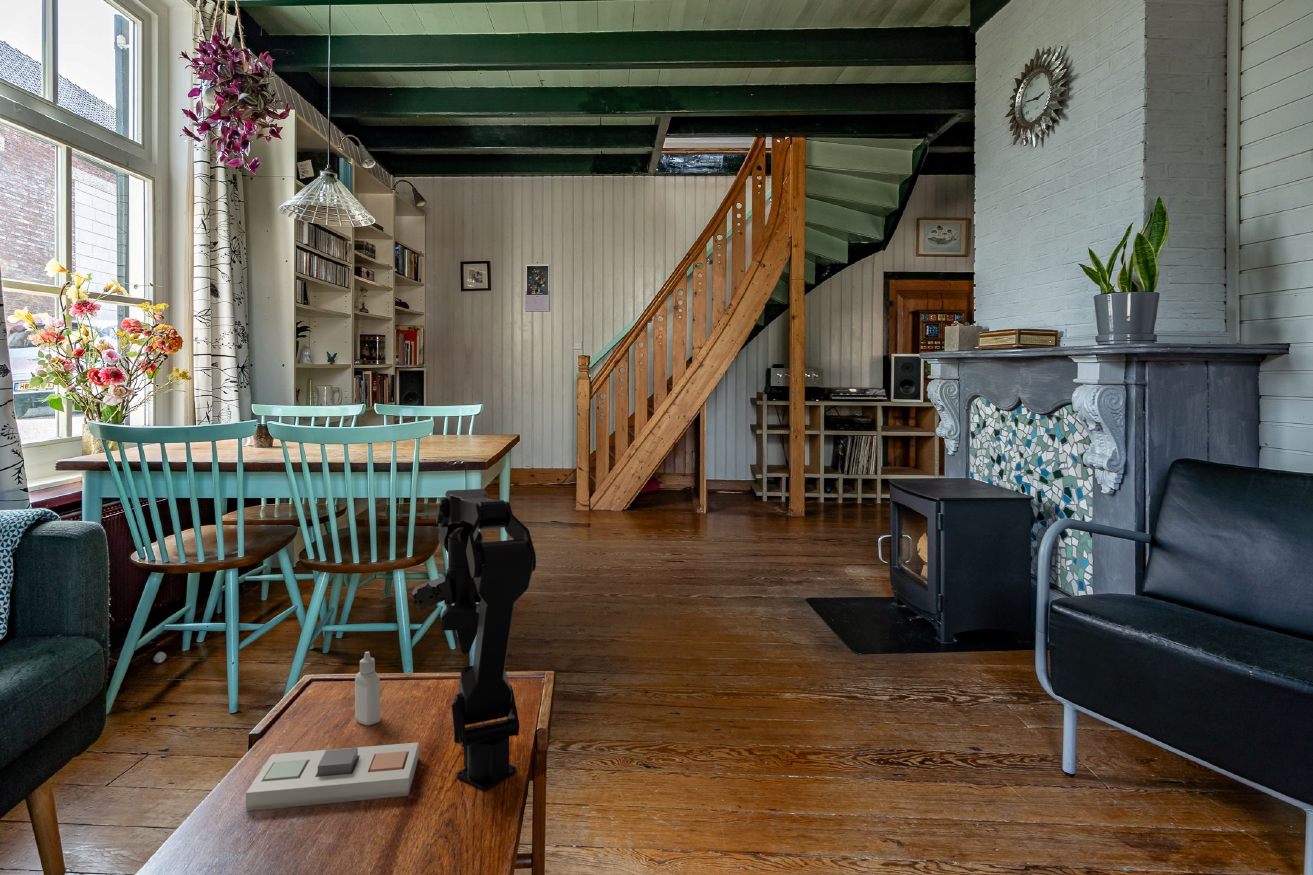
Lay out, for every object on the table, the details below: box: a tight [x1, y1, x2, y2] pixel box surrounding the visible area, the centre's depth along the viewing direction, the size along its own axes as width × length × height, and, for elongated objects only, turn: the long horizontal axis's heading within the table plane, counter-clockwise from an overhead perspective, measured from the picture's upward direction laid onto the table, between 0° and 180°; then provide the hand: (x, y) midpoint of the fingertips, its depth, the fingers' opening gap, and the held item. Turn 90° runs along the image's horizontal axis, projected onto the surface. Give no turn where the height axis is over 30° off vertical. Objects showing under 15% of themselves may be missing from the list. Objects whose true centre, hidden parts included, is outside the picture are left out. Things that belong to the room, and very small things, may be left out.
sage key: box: [264, 759, 307, 781], centre depth 98 cm, size 4×4×2 cm
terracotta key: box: [370, 751, 407, 772], centre depth 101 cm, size 4×4×2 cm
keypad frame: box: [245, 742, 420, 812], centre depth 99 cm, size 21×10×3 cm, turn 102°
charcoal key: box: [318, 747, 358, 777], centre depth 99 cm, size 4×4×2 cm
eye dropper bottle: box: [354, 651, 381, 726], centre depth 118 cm, size 4×6×12 cm
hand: (465, 653), depth 116 cm, fingers closed
